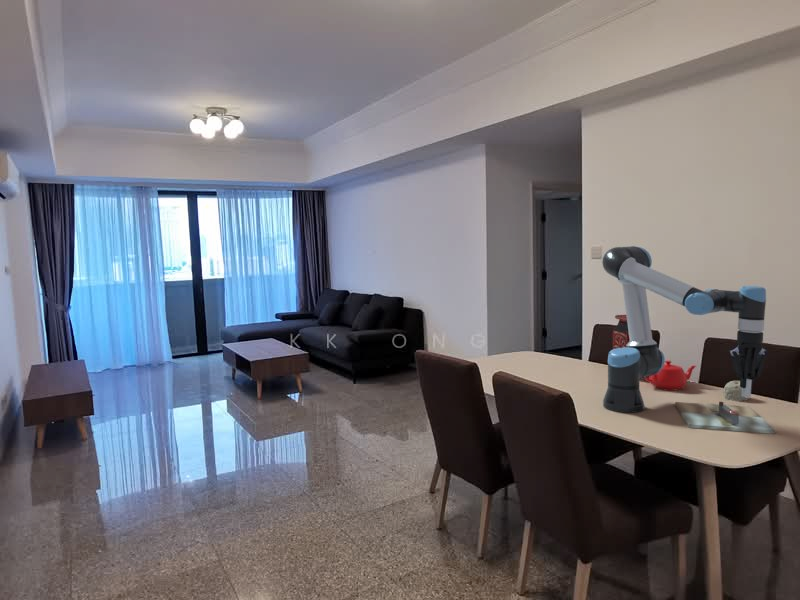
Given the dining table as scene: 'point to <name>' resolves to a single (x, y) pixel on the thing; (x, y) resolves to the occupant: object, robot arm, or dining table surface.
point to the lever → (729, 414)
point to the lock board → (710, 418)
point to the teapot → (670, 377)
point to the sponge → (733, 391)
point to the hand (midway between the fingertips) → (745, 396)
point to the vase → (621, 333)
